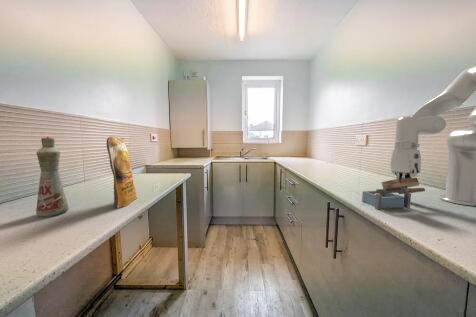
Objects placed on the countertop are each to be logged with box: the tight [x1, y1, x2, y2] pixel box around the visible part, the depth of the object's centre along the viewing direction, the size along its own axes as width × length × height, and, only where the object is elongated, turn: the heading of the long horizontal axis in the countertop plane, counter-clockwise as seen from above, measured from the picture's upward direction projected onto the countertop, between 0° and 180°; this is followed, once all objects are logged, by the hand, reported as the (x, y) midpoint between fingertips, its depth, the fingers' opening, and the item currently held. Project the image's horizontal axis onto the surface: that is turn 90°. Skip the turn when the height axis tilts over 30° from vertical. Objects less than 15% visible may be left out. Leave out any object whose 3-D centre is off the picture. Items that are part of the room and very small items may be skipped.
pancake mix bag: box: [106, 136, 138, 209], centre depth 85 cm, size 7×19×28 cm, turn 5°
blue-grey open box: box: [361, 190, 404, 210], centre depth 83 cm, size 10×10×4 cm
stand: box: [374, 193, 412, 211], centre depth 78 cm, size 2×14×6 cm, turn 97°
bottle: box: [35, 136, 70, 218], centre depth 72 cm, size 9×9×28 cm
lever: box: [375, 177, 426, 195], centre depth 80 cm, size 18×22×4 cm
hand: (402, 188), depth 88 cm, fingers closed
